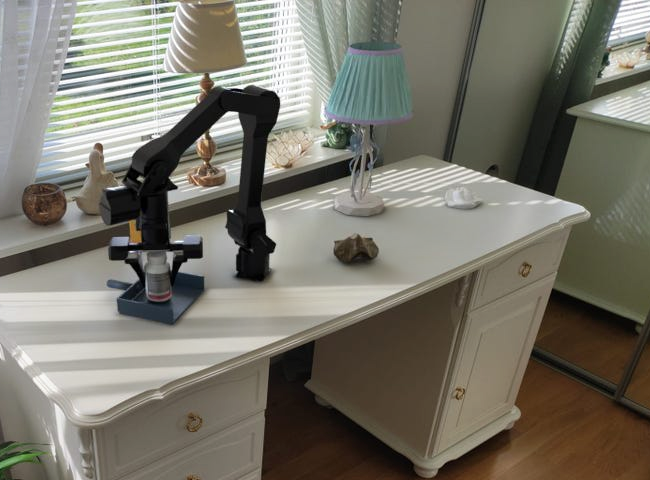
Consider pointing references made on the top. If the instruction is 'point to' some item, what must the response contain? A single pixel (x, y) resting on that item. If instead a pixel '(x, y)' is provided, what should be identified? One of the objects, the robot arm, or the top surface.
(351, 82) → the table lamp
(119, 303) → the dustpan
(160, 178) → the robot arm
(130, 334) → the top surface
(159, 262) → the pill bottle
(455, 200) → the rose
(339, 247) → the fossilized seashell
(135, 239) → the supplement box
